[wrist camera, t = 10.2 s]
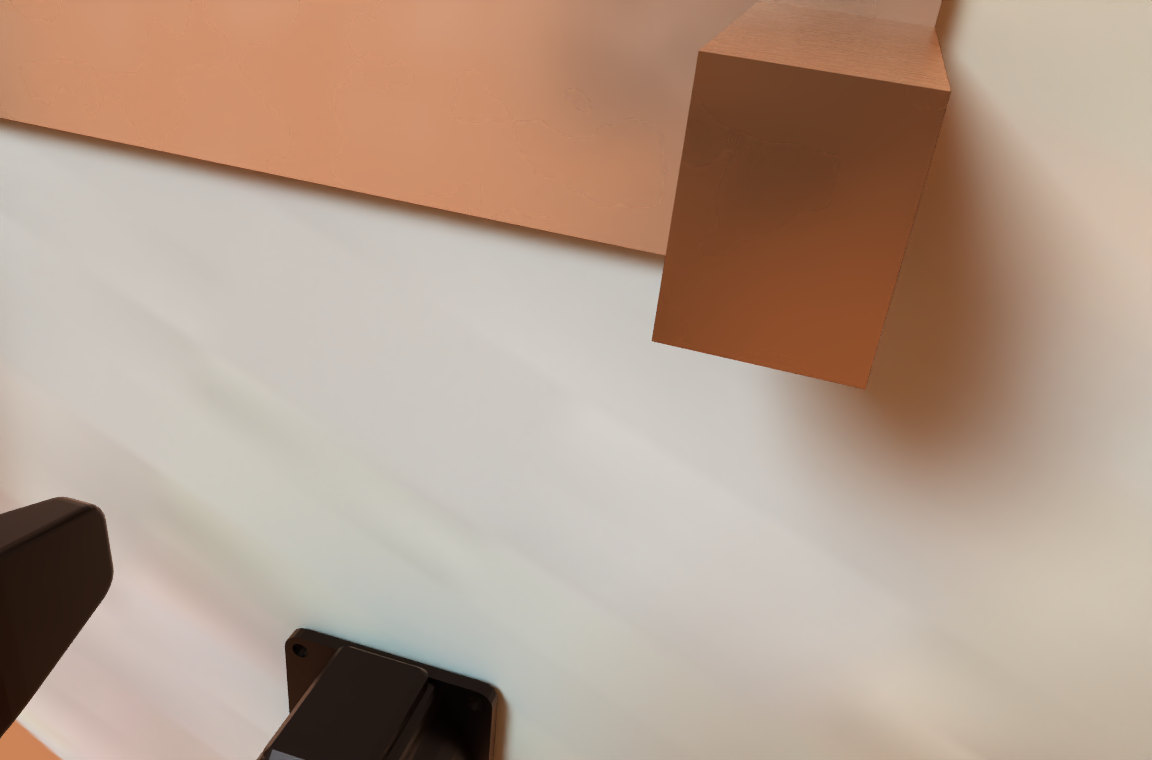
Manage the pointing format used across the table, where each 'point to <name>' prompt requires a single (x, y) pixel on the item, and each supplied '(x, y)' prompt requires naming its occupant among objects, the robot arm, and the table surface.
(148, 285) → the table surface
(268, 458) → the table surface
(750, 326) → the copper plank with block
